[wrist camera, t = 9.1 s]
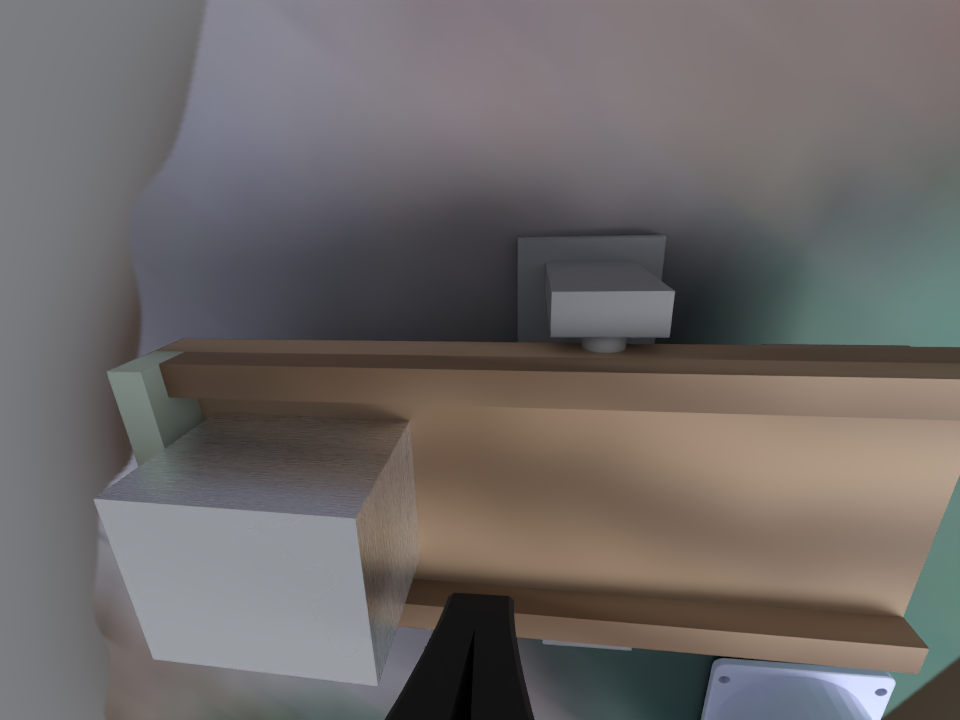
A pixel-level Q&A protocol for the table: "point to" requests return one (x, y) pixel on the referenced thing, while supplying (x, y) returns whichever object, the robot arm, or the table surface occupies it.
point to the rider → (271, 543)
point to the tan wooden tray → (630, 478)
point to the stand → (592, 296)
